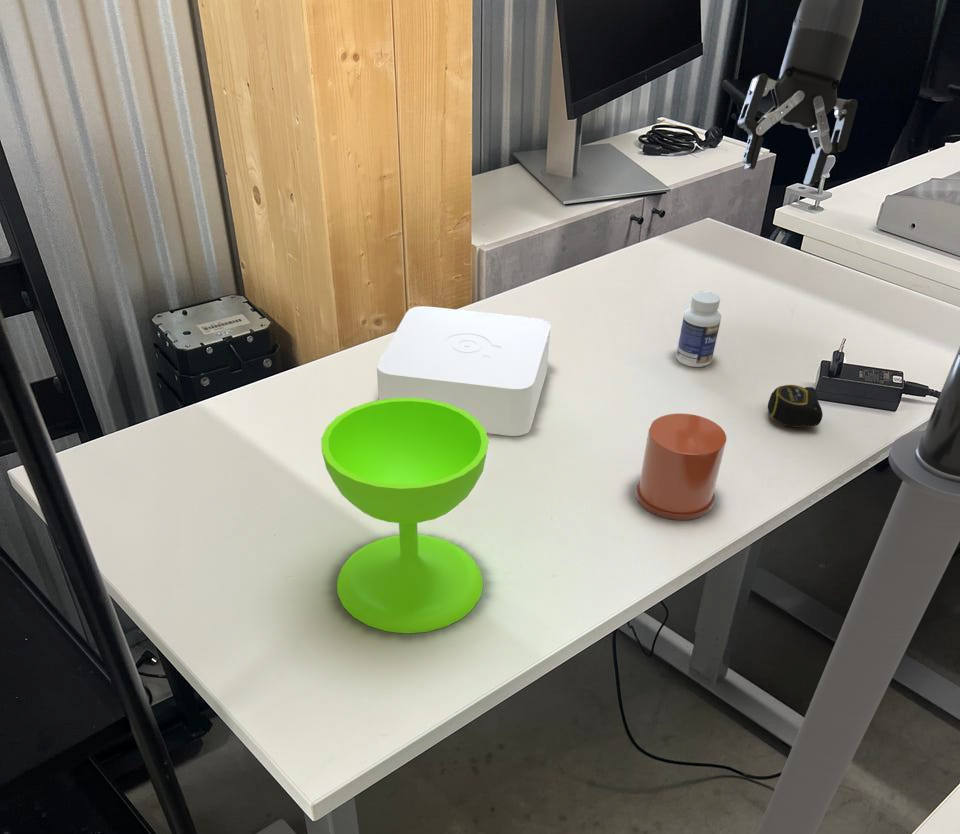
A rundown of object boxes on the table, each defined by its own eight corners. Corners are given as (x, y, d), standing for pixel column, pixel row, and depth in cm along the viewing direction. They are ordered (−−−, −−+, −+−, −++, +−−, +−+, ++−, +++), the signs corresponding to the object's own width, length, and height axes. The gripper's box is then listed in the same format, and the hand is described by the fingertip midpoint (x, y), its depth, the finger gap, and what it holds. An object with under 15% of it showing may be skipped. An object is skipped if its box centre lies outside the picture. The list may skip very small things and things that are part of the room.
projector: (550, 359, 138) (554, 315, 133) (528, 438, 122) (531, 391, 117) (414, 344, 140) (413, 300, 136) (375, 419, 125) (372, 372, 120)
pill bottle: (703, 371, 137) (717, 308, 130) (670, 361, 139) (681, 298, 132) (716, 357, 140) (730, 294, 133) (684, 348, 142) (696, 285, 135)
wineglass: (413, 520, 109) (409, 381, 96) (513, 583, 101) (523, 441, 88) (306, 582, 100) (286, 438, 88) (406, 656, 92) (400, 510, 80)
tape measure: (818, 434, 125) (826, 410, 122) (767, 429, 125) (774, 405, 123) (812, 408, 130) (819, 384, 127) (763, 404, 130) (769, 380, 128)
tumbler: (729, 505, 113) (746, 441, 106) (669, 529, 109) (683, 464, 102) (678, 467, 118) (691, 404, 112) (619, 488, 114) (629, 424, 108)
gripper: (782, 13, 110) (739, 162, 116) (888, 44, 112) (841, 189, 119) (758, 26, 117) (719, 166, 123) (859, 55, 119) (816, 191, 125)
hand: (779, 177), depth 121 cm, fingers open, 8 cm apart
